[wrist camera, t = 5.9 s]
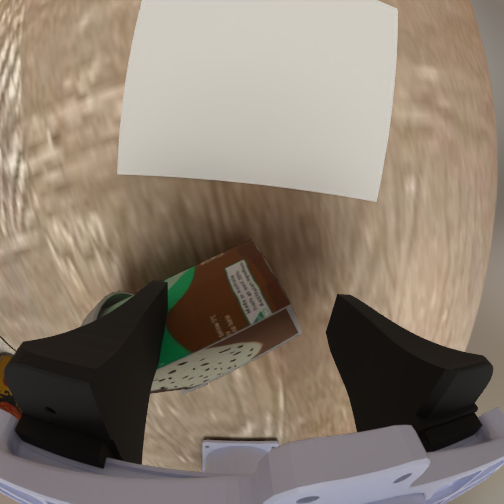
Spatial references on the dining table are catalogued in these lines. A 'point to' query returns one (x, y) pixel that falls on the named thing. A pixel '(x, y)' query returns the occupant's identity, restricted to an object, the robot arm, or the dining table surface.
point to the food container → (216, 318)
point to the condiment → (3, 397)
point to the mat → (261, 93)
